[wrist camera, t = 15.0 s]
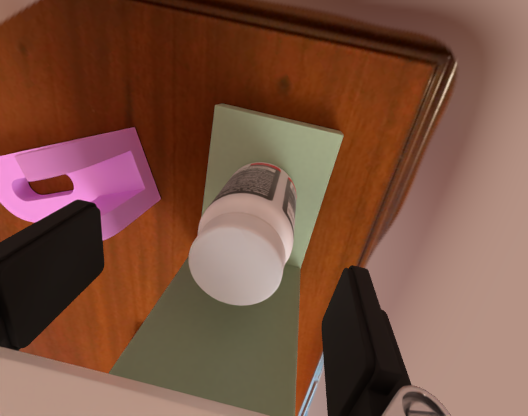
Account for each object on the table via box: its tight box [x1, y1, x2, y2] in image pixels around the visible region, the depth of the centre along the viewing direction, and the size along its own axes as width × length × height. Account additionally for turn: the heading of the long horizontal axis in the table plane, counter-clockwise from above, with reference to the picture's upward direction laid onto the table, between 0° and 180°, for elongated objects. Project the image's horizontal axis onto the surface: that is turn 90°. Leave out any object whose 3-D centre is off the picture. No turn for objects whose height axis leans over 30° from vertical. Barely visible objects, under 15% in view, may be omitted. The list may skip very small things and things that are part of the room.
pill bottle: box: [188, 162, 297, 306], centre depth 15 cm, size 5×5×8 cm
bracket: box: [0, 127, 161, 240], centre depth 19 cm, size 13×6×7 cm, turn 102°
